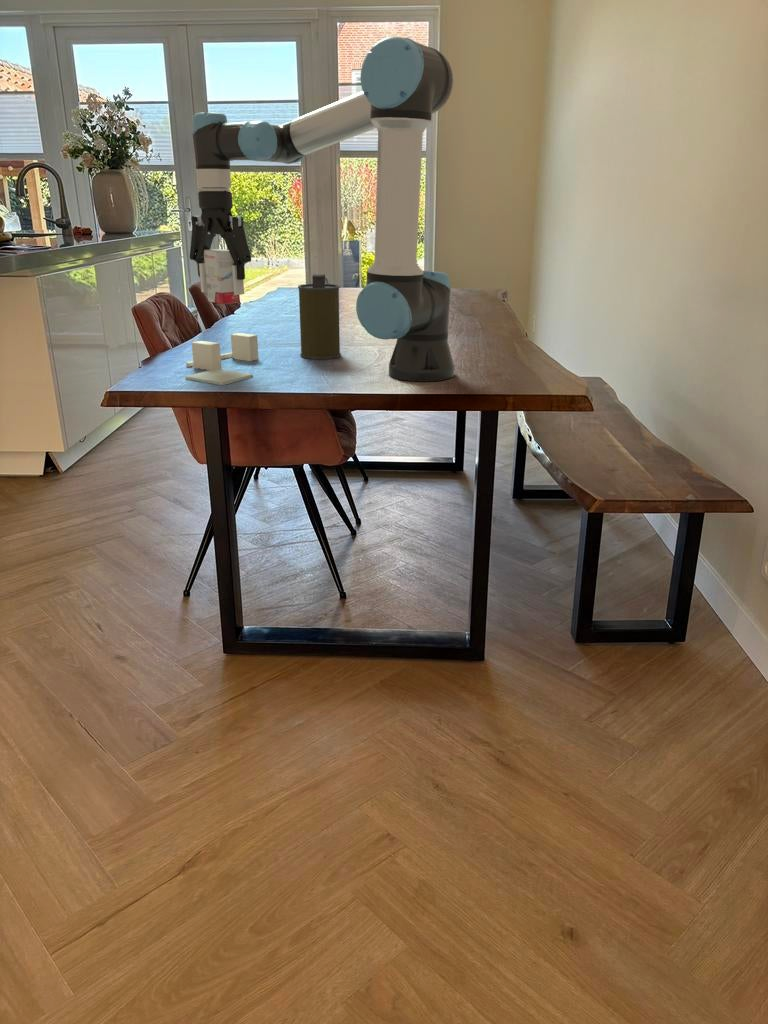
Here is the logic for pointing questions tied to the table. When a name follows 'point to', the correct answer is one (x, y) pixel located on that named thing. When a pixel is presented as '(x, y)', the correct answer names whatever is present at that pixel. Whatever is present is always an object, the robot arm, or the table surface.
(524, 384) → the table surface
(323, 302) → the canister
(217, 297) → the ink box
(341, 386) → the table surface
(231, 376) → the mat
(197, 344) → the holder
